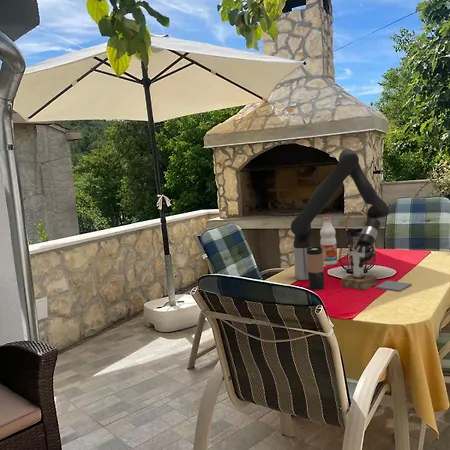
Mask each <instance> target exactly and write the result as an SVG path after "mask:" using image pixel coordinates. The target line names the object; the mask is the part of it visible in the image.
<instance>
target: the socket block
mask: <svg viewBox="0 0 450 450" xmlns="http://www.w3.org/2000/svg"><path fill="white" fill-rule="evenodd" d="M377 285H378V276H377V275H372V274H370V275H369V274H364V276H363V277H361V278H359V277H354V275H353V273H352V274H349V275H348V276H345V277H343V278H341V287H342V288H347V289H354V290H362V291H366V290H368V289H369V288H372V287H373V286H377Z"/></svg>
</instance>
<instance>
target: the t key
mask: <svg viewBox="0 0 450 450" xmlns="http://www.w3.org/2000/svg"><path fill="white" fill-rule="evenodd" d="M348 253H349V255H348V256H349V257H350V256H353V267H352V270H353V272H352V274H353V275H354V277H359V278H361V277H363V276H364V275H365V273H364V272H365V270H364V266H363V267H362V268H360V267H359V263H360V260H361V259H362V257H366V253H364V252H353V251H351V252H350V251H349V252H348Z"/></svg>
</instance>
